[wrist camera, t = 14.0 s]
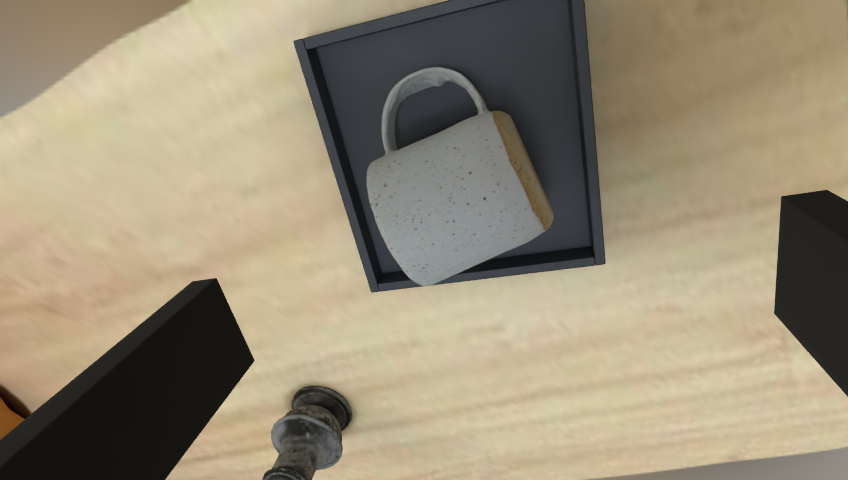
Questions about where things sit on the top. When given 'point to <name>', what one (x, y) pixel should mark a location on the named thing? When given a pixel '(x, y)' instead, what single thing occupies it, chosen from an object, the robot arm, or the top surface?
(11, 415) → the coffee package
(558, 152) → the tray
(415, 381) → the top surface
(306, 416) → the dark chess piece
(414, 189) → the ceramic mug
